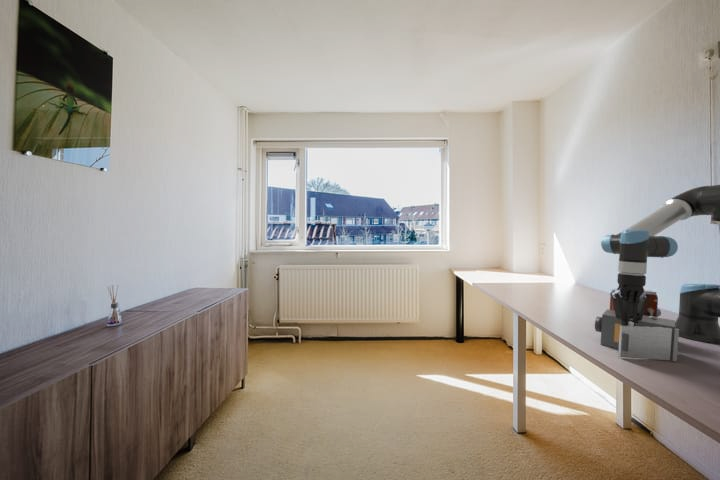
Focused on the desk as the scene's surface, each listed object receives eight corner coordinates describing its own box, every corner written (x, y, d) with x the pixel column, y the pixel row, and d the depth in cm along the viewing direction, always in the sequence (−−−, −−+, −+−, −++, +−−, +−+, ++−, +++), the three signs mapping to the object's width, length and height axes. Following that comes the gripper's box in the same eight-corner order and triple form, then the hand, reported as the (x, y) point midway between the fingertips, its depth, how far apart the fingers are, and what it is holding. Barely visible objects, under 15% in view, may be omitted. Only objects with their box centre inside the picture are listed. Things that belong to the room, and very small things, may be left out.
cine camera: (673, 342, 128) (676, 293, 127) (618, 338, 132) (621, 290, 131) (656, 335, 137) (659, 289, 136) (605, 331, 141) (608, 286, 140)
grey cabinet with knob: (597, 336, 133) (599, 306, 133) (676, 353, 117) (679, 318, 116) (591, 343, 124) (593, 311, 124) (676, 362, 108) (679, 325, 107)
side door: (618, 356, 111) (620, 325, 110) (667, 358, 109) (669, 327, 109) (622, 358, 109) (624, 326, 108) (672, 361, 108) (674, 329, 107)
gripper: (639, 272, 115) (635, 336, 116) (605, 271, 114) (601, 335, 115) (660, 275, 107) (655, 344, 108) (622, 274, 107) (618, 343, 108)
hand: (627, 339), depth 112 cm, fingers closed
